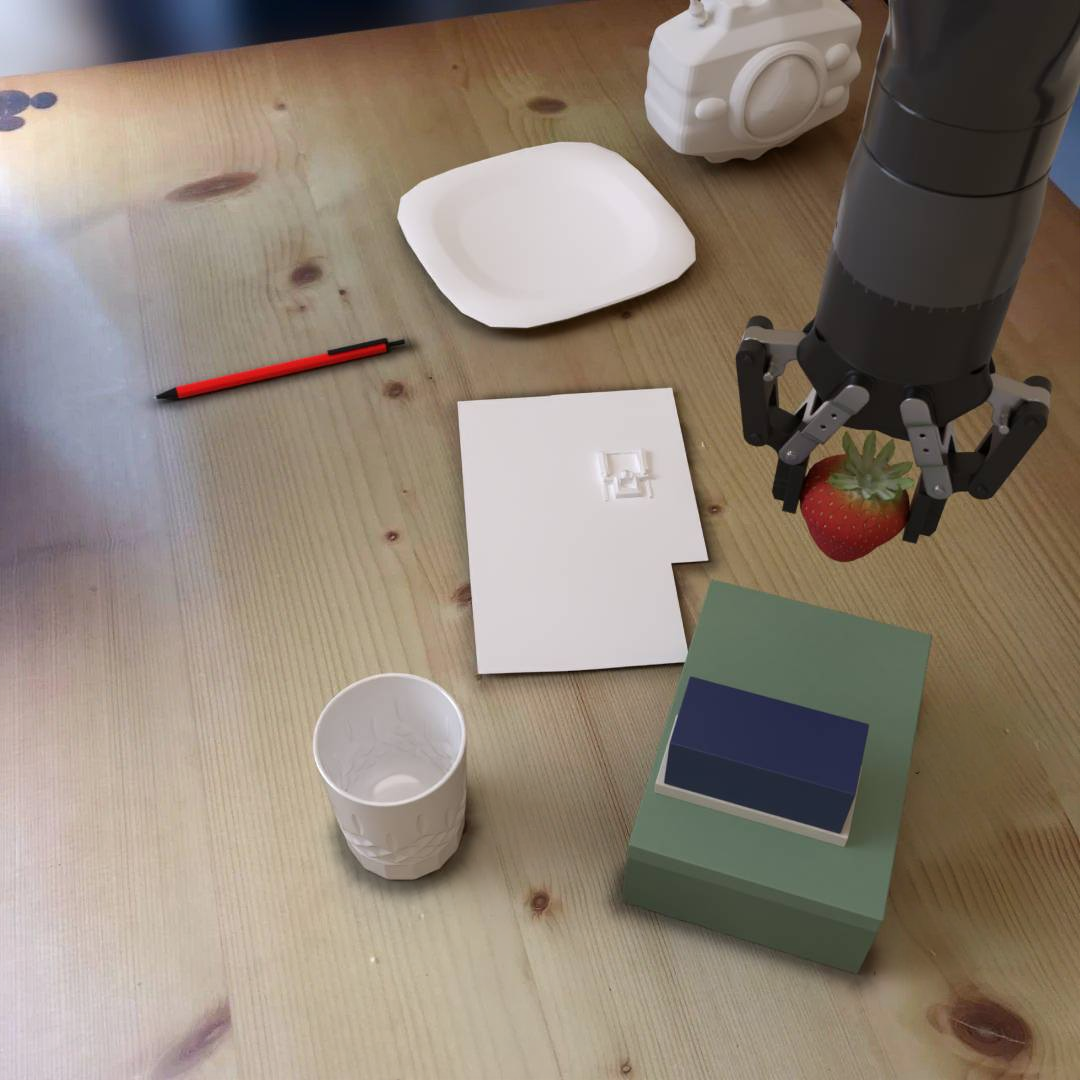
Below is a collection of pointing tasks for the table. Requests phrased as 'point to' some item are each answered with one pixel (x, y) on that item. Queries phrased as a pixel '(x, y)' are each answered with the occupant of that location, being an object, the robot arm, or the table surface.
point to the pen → (282, 368)
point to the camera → (749, 74)
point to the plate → (544, 235)
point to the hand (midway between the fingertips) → (851, 514)
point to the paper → (577, 529)
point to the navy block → (764, 760)
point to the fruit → (856, 500)
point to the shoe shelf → (768, 852)
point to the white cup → (395, 772)
